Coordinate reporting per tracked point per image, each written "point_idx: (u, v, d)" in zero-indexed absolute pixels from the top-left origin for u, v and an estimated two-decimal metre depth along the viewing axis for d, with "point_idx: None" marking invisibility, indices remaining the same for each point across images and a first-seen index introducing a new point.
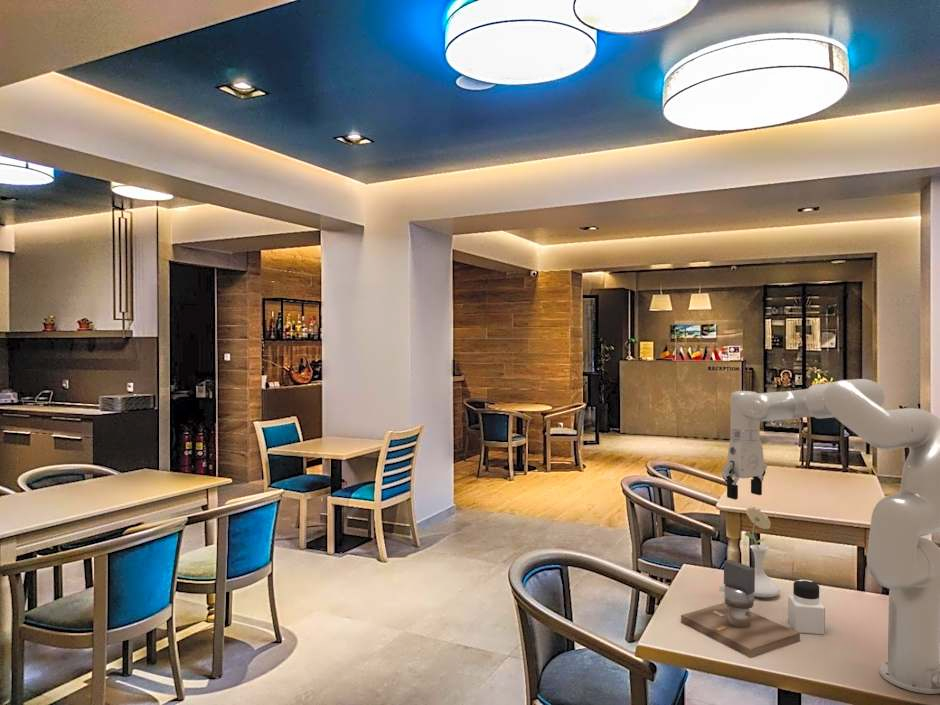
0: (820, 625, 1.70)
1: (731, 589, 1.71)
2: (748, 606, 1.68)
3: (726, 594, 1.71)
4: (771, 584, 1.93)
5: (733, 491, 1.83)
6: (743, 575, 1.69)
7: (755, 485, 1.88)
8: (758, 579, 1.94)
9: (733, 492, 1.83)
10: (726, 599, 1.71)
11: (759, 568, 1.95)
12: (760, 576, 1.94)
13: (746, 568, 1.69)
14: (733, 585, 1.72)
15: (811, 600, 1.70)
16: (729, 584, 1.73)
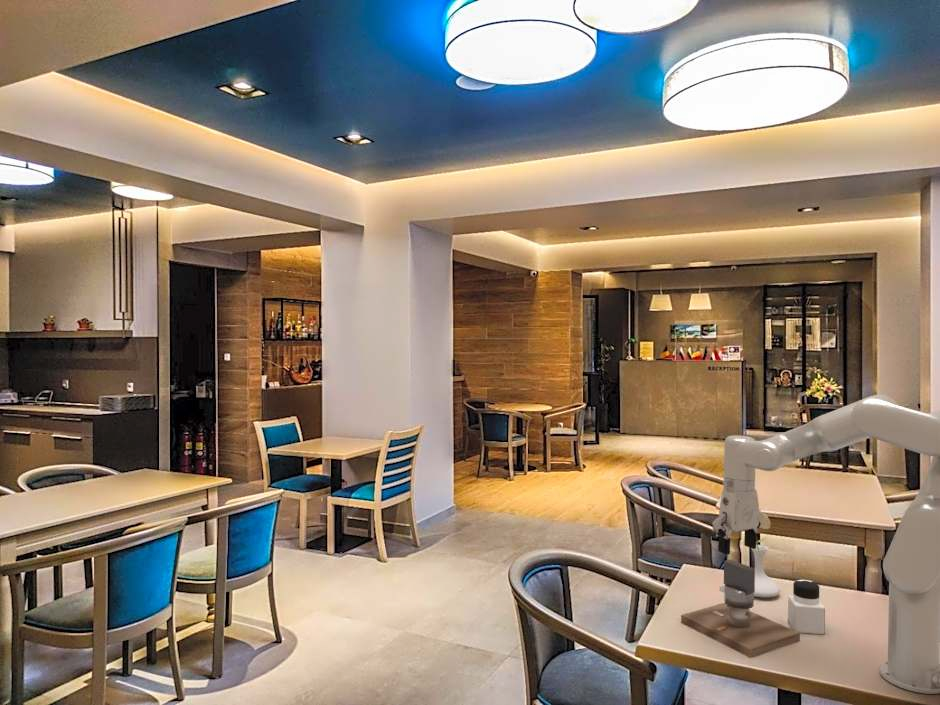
0: (820, 625, 1.70)
1: (731, 589, 1.71)
2: (748, 606, 1.68)
3: (726, 594, 1.71)
4: (771, 584, 1.93)
5: (725, 545, 1.68)
6: (743, 575, 1.69)
7: (749, 537, 1.74)
8: (758, 579, 1.94)
9: (725, 546, 1.68)
10: (726, 599, 1.71)
11: (759, 568, 1.95)
12: (760, 576, 1.94)
13: (746, 568, 1.69)
14: (733, 585, 1.72)
15: (811, 600, 1.70)
16: (729, 584, 1.73)
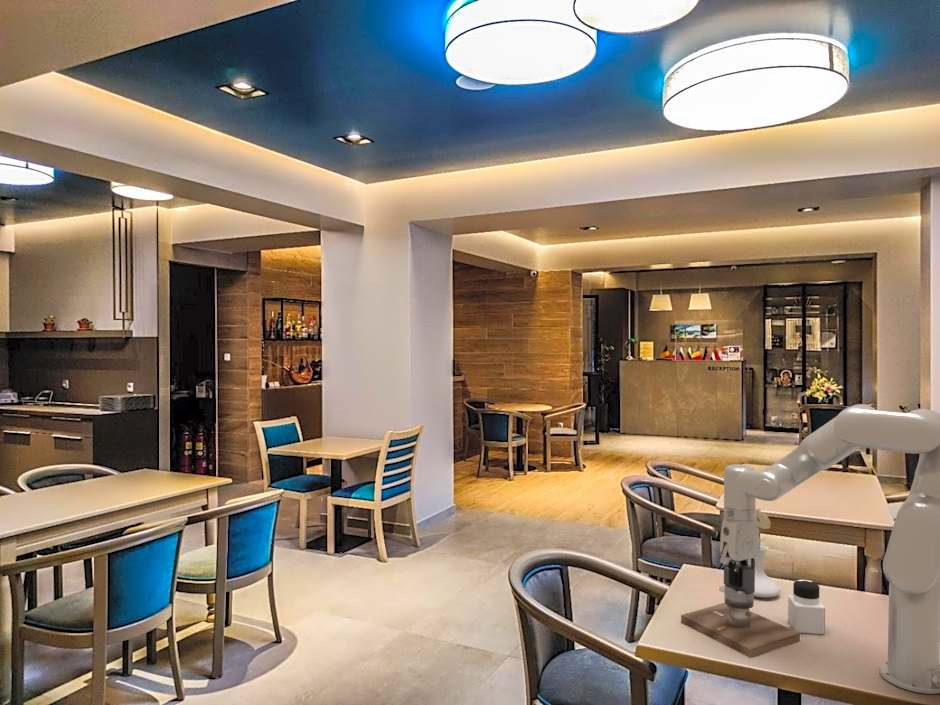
0: (820, 625, 1.70)
1: (731, 589, 1.71)
2: (748, 606, 1.68)
3: (726, 594, 1.71)
4: (771, 584, 1.93)
5: (735, 578, 1.70)
6: (743, 575, 1.69)
7: None
8: (758, 579, 1.94)
9: (735, 579, 1.70)
10: (726, 599, 1.71)
11: (759, 568, 1.95)
12: (760, 576, 1.94)
13: (746, 568, 1.69)
14: None
15: (811, 600, 1.70)
16: (729, 584, 1.73)
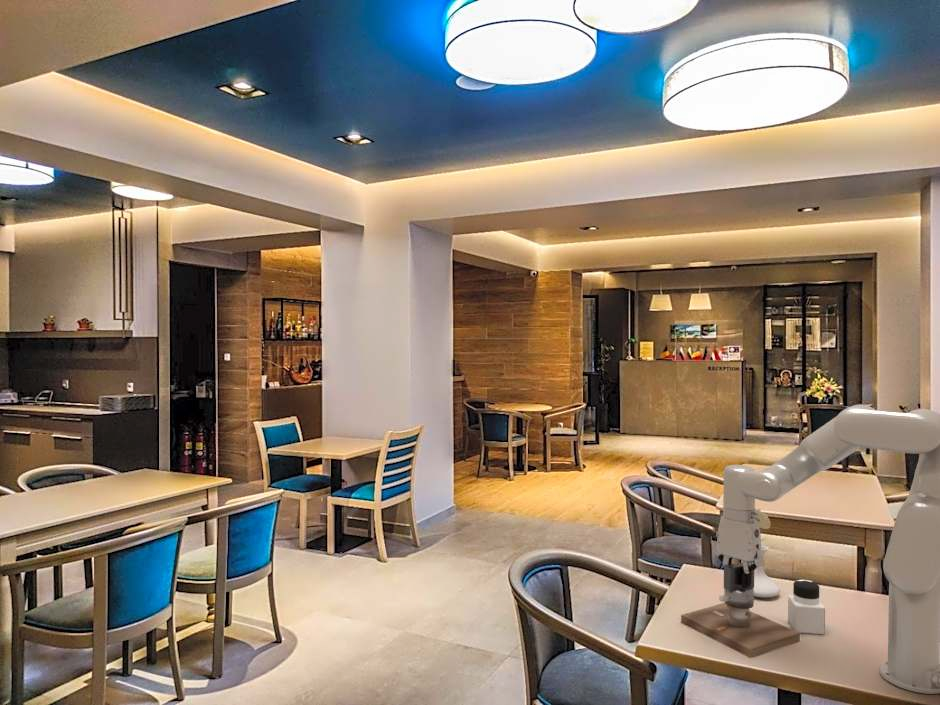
0: (820, 625, 1.70)
1: (745, 591, 1.69)
2: None
3: (745, 598, 1.68)
4: (771, 584, 1.93)
5: None
6: None
7: None
8: (758, 579, 1.94)
9: None
10: (744, 604, 1.68)
11: (759, 568, 1.95)
12: (760, 576, 1.94)
13: None
14: (740, 587, 1.70)
15: (811, 600, 1.70)
16: (736, 588, 1.70)
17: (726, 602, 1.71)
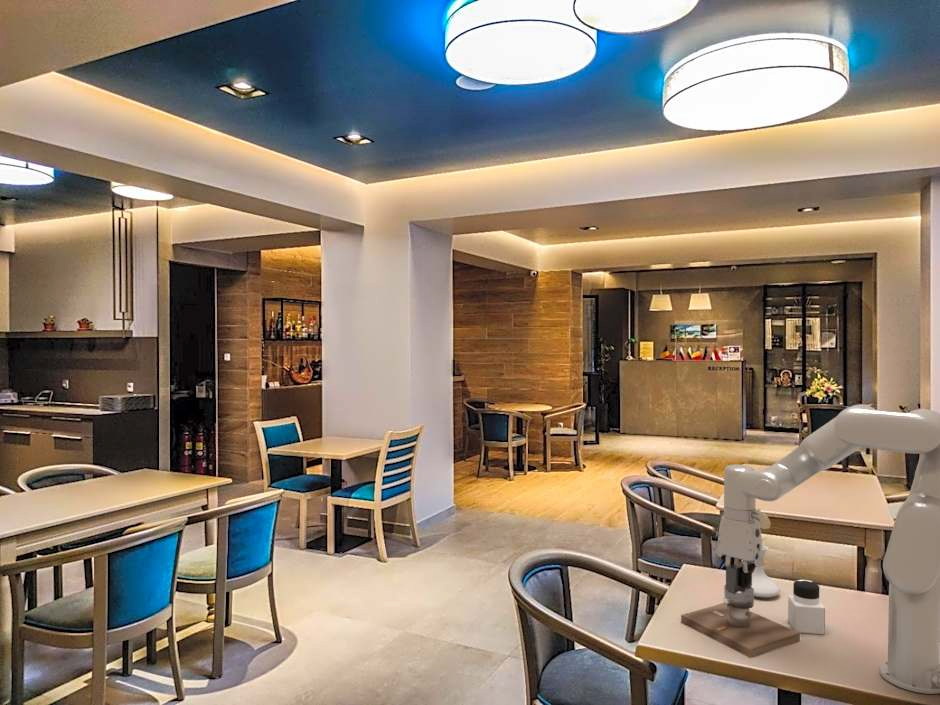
0: (820, 625, 1.70)
1: (747, 591, 1.69)
2: None
3: (748, 598, 1.68)
4: (771, 584, 1.93)
5: None
6: None
7: None
8: (758, 579, 1.94)
9: None
10: (747, 603, 1.68)
11: (759, 568, 1.95)
12: (760, 576, 1.94)
13: None
14: (741, 587, 1.70)
15: (811, 600, 1.70)
16: (738, 589, 1.69)
17: (728, 603, 1.70)
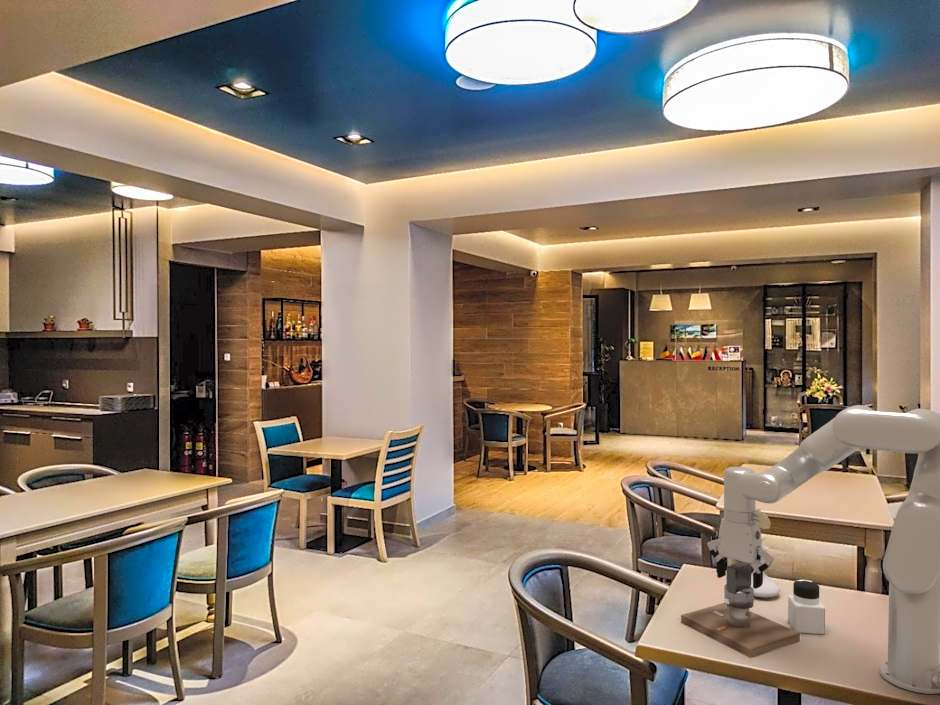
0: (820, 625, 1.70)
1: (747, 591, 1.69)
2: None
3: (749, 598, 1.68)
4: (771, 584, 1.93)
5: None
6: (748, 570, 1.72)
7: (722, 567, 1.75)
8: None
9: None
10: (748, 603, 1.68)
11: None
12: None
13: (746, 563, 1.73)
14: (741, 587, 1.70)
15: (811, 600, 1.70)
16: (739, 589, 1.69)
17: (729, 604, 1.70)
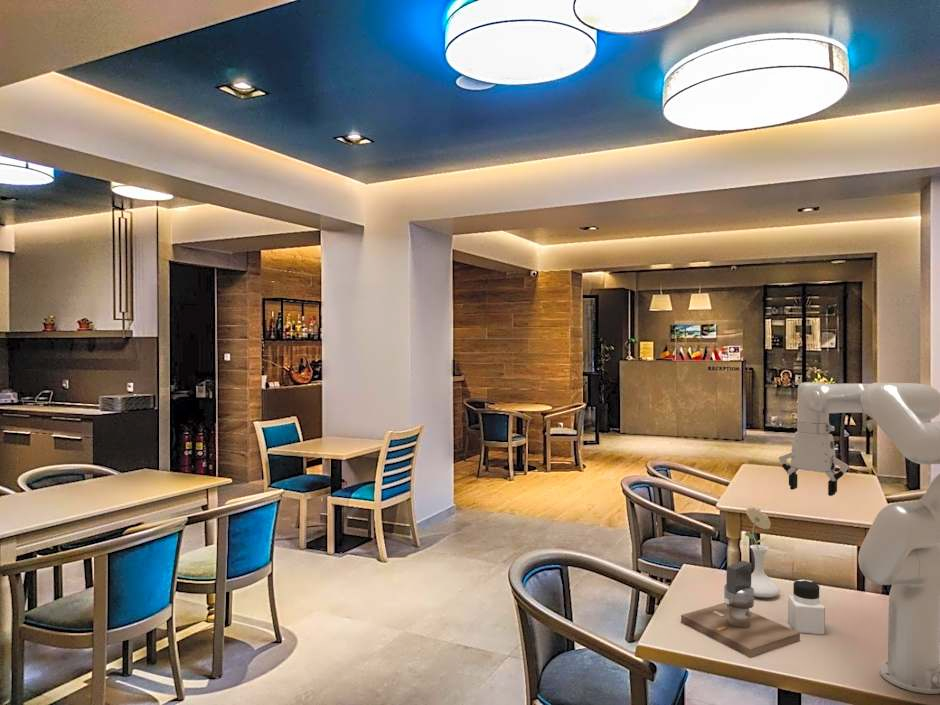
0: (820, 625, 1.70)
1: (747, 591, 1.69)
2: None
3: (749, 598, 1.68)
4: (771, 584, 1.93)
5: None
6: (748, 570, 1.72)
7: (795, 479, 1.82)
8: (758, 579, 1.94)
9: None
10: (748, 603, 1.68)
11: (759, 568, 1.95)
12: (760, 576, 1.94)
13: (746, 563, 1.73)
14: (741, 587, 1.70)
15: (811, 600, 1.70)
16: (739, 589, 1.69)
17: (729, 604, 1.70)
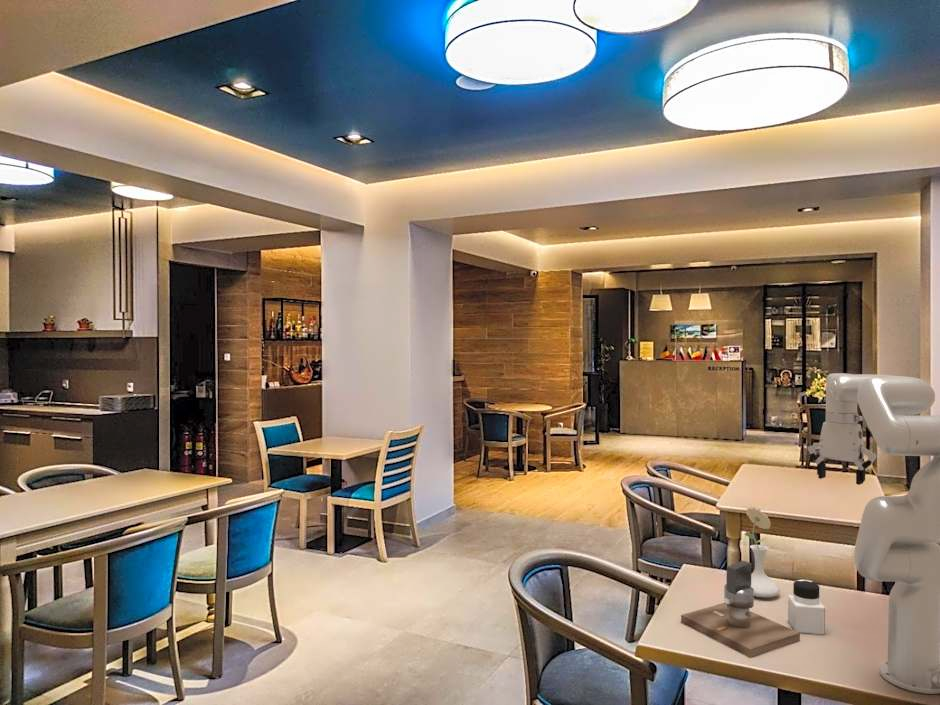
0: (820, 625, 1.70)
1: (747, 591, 1.69)
2: None
3: (749, 598, 1.68)
4: (771, 584, 1.93)
5: None
6: (748, 570, 1.72)
7: (823, 469, 1.86)
8: (758, 579, 1.94)
9: None
10: (748, 603, 1.68)
11: (759, 568, 1.95)
12: (760, 576, 1.94)
13: (746, 563, 1.73)
14: (741, 587, 1.70)
15: (811, 600, 1.70)
16: (739, 589, 1.69)
17: (729, 604, 1.70)
